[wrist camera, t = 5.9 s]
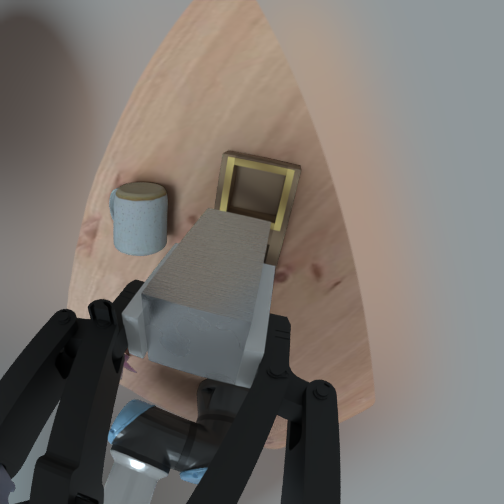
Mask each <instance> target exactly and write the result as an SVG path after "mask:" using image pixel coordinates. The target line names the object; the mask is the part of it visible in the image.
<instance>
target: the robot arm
mask: <svg viewBox="0 0 504 504" xmlns="http://www.w3.org/2000/svg"><path fill="white" fill-rule="evenodd" d="M177 246H178V243H175V245H174V246H173V247H172V248H171V249H170V251H169V252H168V253H167V254H166V256H165V257H164V258H163V259H162V261H161V262H160V263H159V265H158V266H157V267H156V268H155V270H154V271H153V272H152V274H151V275H150V276H149V277H148V279H147V280H146V281H145V282H143V281H139V280H134V281H132V282H130V283H129V284H128V285H127V286H126V287H125V288H124V289H123V291H122V292H121V293H120V294H119V296H118V297H117V298H116V299H115V301H114V302H113V303H112V302H110V301H108V300H105V299H99V300H95V301H93V302H92V303H90V304H89V306H88V310H89V314H90V318H91V319H82V318H77V317H76V314H75V312H73V311H72V310H69V309H63V310H60V311H58V312H56V313H55V314H54V315H53V316H52V317H51V318H50V320H49V321H48V322H47V323H46V324H45V325H44V326H43V327H42V329H41V330H40V331H39V332H38V333H37V334H36V336H35V337H34V338H33V339H32V340H31V342H30V343H29V344H28V345H27V346H26V348H25V349H24V350H23V351H22V353H21V354H20V355H19V356H18V358H17V359H16V360H15V362H14V363H13V364H12V365H11V367H10V368H9V369H8V371H7V372H6V373H5V375H4V376H3V377H2V379H1V380H0V504H9V503H8V496H9V494H10V492H14V491H15V484H14V482H12V481H11V479H12V478H13V477H14V476H15V475H16V474H17V473H18V471H19V470H20V469H21V467H22V466H23V464H24V462H25V460H26V458H27V456H28V455H29V453H30V451H31V449H32V447H33V445H34V443H35V441H36V439H37V438H38V436H39V434H40V432H41V430H42V429H43V427H44V425H45V424H46V422H47V420H48V418H49V417H50V415H51V413H52V412H53V410H54V408H55V407H56V405H57V404H58V402H59V400H60V403H59V406H58V409H57V413H56V416H55V419H54V423H53V427H52V431H51V434H50V438H49V442H48V447H47V451H46V453H45V455H43V456H41V457H39V458H38V460H37V462H36V465H35V469H34V474H33V481H32V486H31V493H30V500H28V501H24V502H20V503H16V504H150V502H151V499H152V496H153V493H154V490H155V487H156V484H157V481H158V480H159V479H161V478H163V477H166V476H168V474H169V471H170V469H174V470H177V471H180V472H181V473H180V478H181V479H182V480H184V481H188V482H191V483H194V484H198V485H197V487H196V488H195V490H194V492H193V493H192V495H191V497H190V498H189V500H188V502H187V503H186V504H237V502H238V500H239V498H240V496H241V494H242V492H243V490H244V488H245V486H246V484H247V482H248V480H249V477H250V476H251V474H252V471H253V469H254V467H255V465H256V463H257V460H258V458H259V456H260V453H261V451H262V449H263V447H264V444H265V442H266V440H267V437H268V435H269V433H270V430H271V428H272V425H273V423H274V420H275V418H276V415H278V416H281V417H283V418H285V419H287V420H288V423H287V438H286V453H285V464H284V476H283V486H282V496H281V504H340V488H341V487H340V443H339V423H338V408H337V395H336V391H335V388H334V387H333V386H332V385H331V384H330V383H328V382H327V381H324V380H314V381H312V382H310V383H309V382H307V381H305V380H302V379H300V378H299V377H297V376H296V375H295V374H293V372H292V371H291V369H290V367H289V352H290V331H291V324H290V322H289V320H288V318H287V317H284V316H280V315H275V314H270V305H271V297H272V289H273V281H274V273H275V266H273V265H268V264H264V263H263V268H262V273H261V278H260V283H259V288H258V293H257V298H256V304H255V309H254V314H253V319H252V323H251V327H250V331H249V335H248V338H247V341H246V344H245V348H244V352H243V356H242V359H241V363H240V367H239V371H238V374H237V379H236V383H235V385H234V384H229V383H225V382H221V381H217V380H213V379H206V380H204V381H202V382H201V383H200V385H199V388H198V391H197V408H198V418H197V422H196V423H195V422H192V421H190V420H187V419H184V418H182V417H179V416H177V415H174V414H172V413H169V412H167V411H165V410H162V409H160V408H158V407H156V406H155V405H151V404H148V403H146V402H143V401H141V400H132V401H130V402H128V403H127V404H126V406H124V408H123V409H122V410H121V412H120V413H119V414H118V416H117V418H116V419H115V421H114V423H113V425H112V428H111V429H110V423H111V418H112V413H113V407H114V403H115V399H116V394H117V390H118V386H119V381H120V377H121V373H122V369H123V365H124V361H125V354H124V352H125V350H126V349H127V347H128V350H129V354H132V355H135V356H138V357H140V358H144V356H145V354H146V352H147V350H148V348H147V341H146V333H145V324H144V315H143V308H142V296H141V293H142V292H143V290H144V289H145V287H146V286H147V285H148V283H149V282H150V281H151V279H152V278H153V277H154V275H155V274H156V273H157V271H158V270H159V269H160V267H161V266H162V265H163V264H164V262H165V261H166V260H167V258H168V257H169V256H170V254H171V253H172V252H173V251H174V249H175V248H176V247H177ZM109 429H110V431H109ZM107 440H108V441H109V442H110V443H111V444H113V445H112V448H111V450H110V452H111V454H112V456H113V458H114V464H113V467H112V469H111V472H110V474H109V477H108V479H107V482H106V484H105V487H104V488H103V485H102V474H103V467H104V458H105V452H106V446H107Z"/></svg>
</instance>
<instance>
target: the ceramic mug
mask: <svg viewBox="0 0 504 504" xmlns="http://www.w3.org/2000/svg"><path fill="white" fill-rule="evenodd" d="M109 207H110V213H111V216H112V219H113V221H114V245H115V247H116V249H118V250H119V251H120V252H122V253H125V254H128V255H135V256H145V255H150V254H154V253H157V252H159V251H160V250H162V249H163V248H164V247H165V245H166V243H167V208H168V199H167V192H166V190H165V189H164V187H162V186H161V185H158V184H154V183H148V182H136V183H129V184H125V185H122V186H121V187H119V188H117V189H114V190H113V191H112V193H111V195H110V202H109Z"/></svg>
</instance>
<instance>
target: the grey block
mask: <svg viewBox="0 0 504 504" xmlns="http://www.w3.org/2000/svg"><path fill="white" fill-rule="evenodd" d="M270 226H271V222H270V221H266V220H261V219H257V218H252V217H248V216H243V215H239V214H234V213H230V212H225V211H220V210H215V209H211V208H208V209H207V210H206V211H205V212H204V213H203V215H202V216H201V217H200V218H199V219H198V221H197V222H196V223H195V224H194V226H193V227H192V228H191V229H190V231H189V232H188V233H187V234H186V235H185V237H184V238H183V239H182V240H181V242H180V243H179V244H178V246H177V247H176V248H175V249H174V251H173V252H172V253H171V254H170V256H169V257H168V258H167V260H166V261H165V262H164V264H163V265H162V266H161V267H160V269H159V270H158V271H157V273H156V274H155V275H154V277H153V278H152V279H151V281H150V282H149V283H148V285H147V286H146V287H145V289H144V290H143V292H142V293H141V296H142V308H143V315H144V324H145V333H146V341H147V348H148V350H147V351H148V357H149V360H150V361H153V362H156V363H158V364H162V365H165V366H168V367H171V368H174V369H177V370H181V371H184V372H187V373H191V374H194V375H198V376H202V377H205V378H209V379H213V380H217V381H221V382H225V383H229V384H234V385H235V383H236V379H237V374H238V371H239V367H240V363H241V359H242V356H243V352H244V348H245V344H246V341H247V338H248V335H249V331H250V327H251V323H252V319H253V314H254V309H255V304H256V298H257V293H258V288H259V283H260V278H261V273H262V268H263V263H264V257H265V252H266V247H267V242H268V236H269V231H270Z"/></svg>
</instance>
